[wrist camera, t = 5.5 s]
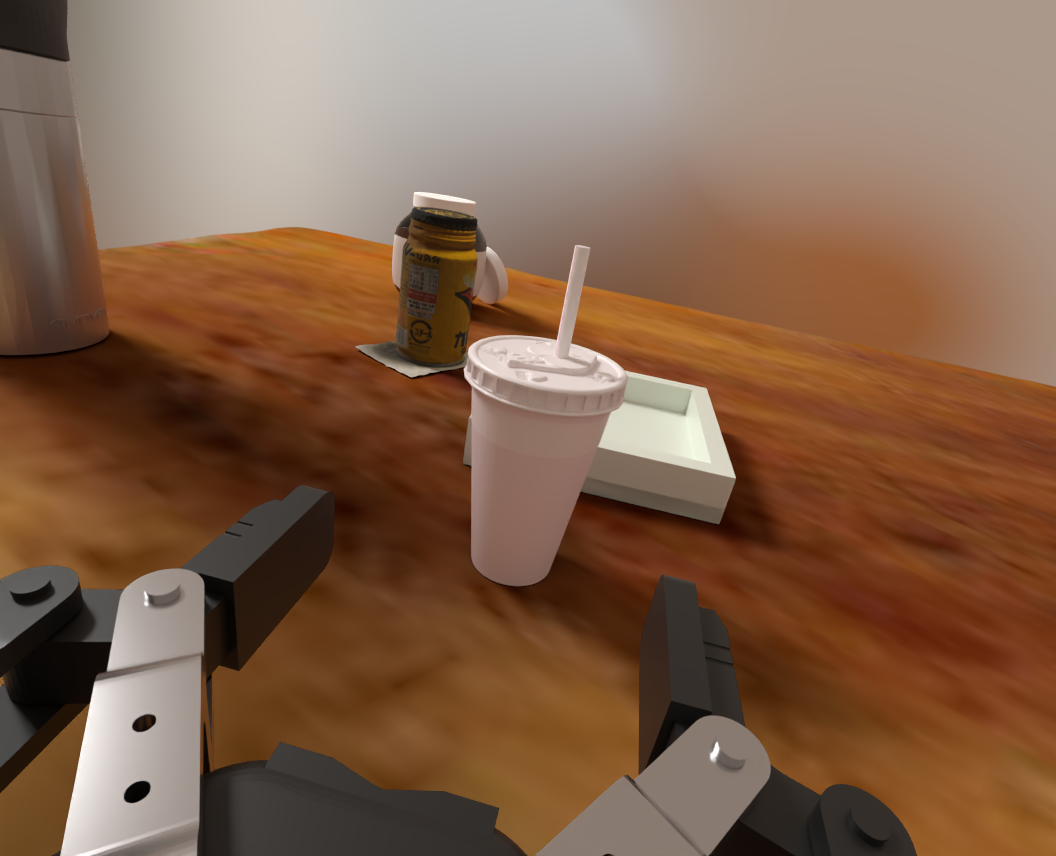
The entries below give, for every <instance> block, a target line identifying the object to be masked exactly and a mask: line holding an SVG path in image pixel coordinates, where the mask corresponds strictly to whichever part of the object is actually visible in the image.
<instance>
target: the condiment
mask: <svg viewBox="0 0 1056 856" xmlns="http://www.w3.org/2000/svg"><path fill="white" fill-rule="evenodd" d="M410 216H411V224H410V226H409V234H410V235H409V237H408V239H407V241H406V242H405V244H404V246H403V250H402V251H403V253H402V267H401V278H400V279H401V281H400V294H399V308H398V321H397V334H396V342H385V343H379V344H373V345H361V346H355V347H356V348H358V349H360V350H361V351H362V352H364V353H365V354H367V355H369V356H371V357H372V358H374V359H375V360H377V361H379V362H381V363H383V364H385V366H386V367H387V366H389V367H391V368H394V369H395V370H397V371H398V372H400V373H404V374H406V375H407V376H409V377H415V376H418V375H425V374H428V373H434V372H438V371H444V370H452V369H458V368H461V367H466V365H467V358H468V354H466V353H465V352H466V346H467V340H468V331H469V324H470V315H471V307H472V299H473V291H474V283H475V276H476V271H477V260H478V258H477V253H476V251H475V249H474V245H475V244H476V239H475V237H476V234H475V233H476V228H477V219H476V218H475V217H473V216H471V215H468V214H464V213H461V212H456V211H451V210H445V209H440V208H433V207H432V208H431V207H415V208H413V210H412V212H411V213H410ZM418 366H419V367H418Z"/></svg>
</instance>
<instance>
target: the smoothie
mask: <svg viewBox="0 0 1056 856" xmlns="http://www.w3.org/2000/svg"><path fill="white" fill-rule="evenodd" d="M589 252H590V248H589V247H586V246H580V245H576V246H575V250H574V255H573V260H572V266H571V271H570V276H569V281H568V286H567V291H566V296H565V302H564V307H563V312H562V317H561V322H560V327H559V333H558V338H557V340H553V339H547V338H540V337H531V336H514V335H509V336H495V337H489V338H485V339H481V340H479V341H477V342H475V343H474V344H472V345H471V346H470V348H469V350H468V358H467V365H466V367H465V368H464V375H465V379H466V380H467V381H468V382H469V384H470V385H471V386H472V411H471V421H472V477H471V558H472V562H473V564H474V566H475V568H476V569H477V570H478V571H479V572H480V573H481V574H482V575H484V576H485V577H487V578H488V579H490V580H492V581H495V582H497V583H500V584H504V585H510V586H526V585H531V584H534V583H537V582H539V581H541V580H542V579H544V578H545V577H546V576H547V574H548V573H549V571H550V568H551V566H552V563H553V561H554V558H555V555H556V553H557V550H558V548H559V545H560V543H561V540H562V537H563V535H564V532H565V530H566V527H567V525H568V522H569V519H570V517H571V514H572V512H573V509H574V507H575V504H576V502H577V499H578V496H579V494H580V491H581V489H582V486H583V484H584V481H585V478H586V476H587V473H588V471H589V468H590V466H591V463H592V461H593V458H594V455H595V453H596V450H597V448H598V445H599V443H600V441H601V438H602V435H603V433H604V430H605V427H606V425H607V422H608V419H609V416H610V414H611V412H612V411H614V410H617V409H619V408H620V406H621V405H622V403H623V402H624V393H625V389H626V385H627V381H628V377H627V374H626V373H625V371H624V370H623V368H621V367H620V366H619V365H618V364H617V363H616V362H614V361H613V360H611V359H609V358H608V357H606V356H604V355H602V354H600V353H597V352H595V351H592V350H590V349H587V348H584V347H581V346H578V345H574V344H571V340H572V335H573V330H574V326H575V321H576V316H577V311H578V306H579V301H580V296H581V291H582V286H583V281H584V277H585V272H586V266H587V262H588V257H589Z"/></svg>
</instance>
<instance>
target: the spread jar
mask: <svg viewBox="0 0 1056 856" xmlns="http://www.w3.org/2000/svg"><path fill="white" fill-rule="evenodd" d="M413 206H414V208H415V207H431V208H432V207H433V208H440V209H445V210H451V211H456V212H461V213H464V214H468V215H471V216H473V217H474V216H475V210H476V202H473V201H470V200H466V199H462V198H458V197H452V196H447V195H440V194H433V193H425V192H415V193H414V202H413ZM410 224H411V216H410V214H408V215H407V216H406V217H405V218H404V219H403V220H402V221H401V222H400V224H399V225H398V227H397V230H396V232H395V237H394V245H393V259H392V277H393V282H394V284H395V287H396V289H397V290H398V292H399V293H400V281H401V279H400V278H401V267H402V253H403V251H402V250H403V246H404V244H405V242H406V241H407V239H408V237H409V235H410V234H409V226H410ZM475 234H476V237H475V239H476V244H475V245H474V249H475V251H476V253H477V258H478V260H477V271H476V276H475V283H474V291H473V299H472V301H473V300H474V299H475V298H476V297H478V298H479V299H480V300H481V301H482V302H484V303H486V304H494V303H496V302H498V301H501V300H502V299H504V297H505V296H506V294H507V290H508V279H507V274H506V271H505V268H504V265H503V264H502V262H501V260H500V258H499V257H498V255H497V254H496V253H495V252H494V251H493V250H492V249H490V248H489V247H487V246H486V240H485V237H484V235H483V233H482V231H481V229H480V228H479V226H478V225H477V228H476V233H475Z"/></svg>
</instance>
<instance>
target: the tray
mask: <svg viewBox="0 0 1056 856" xmlns="http://www.w3.org/2000/svg"><path fill="white" fill-rule="evenodd" d="M625 373H626V374H627V377H628V381H627V385H626V389H625V393H624V402H623V403H622V405H621V406H620V408H619V409H617V410H614V411H612V412H611V414H610V416H609V419H608V422H607V425H606V427H605V430H604V433H603V435H602V438H601V441H600V443H599V445H598V448H597V450H596V453H595V455H594V458H593V461H592V463H591V466H590V468H589V471H588V473H587V476H586V478H585V481H584V484H583V486H582V489H581V491H580V492H584V493H589V494H593V495H597V496H601V497H605V498H610V499H614V500H618V501H622V502H627V503H631V504H635V505H639V506H643V507H648V508H652V509H656V510H660V511H665V512H669V513H673V514H677V515H681V516H686V517H690V518H694V519H698V520H703V521H707V522H711V523H715V524H720V521H721V518H722V516H723V513H724V510H725V508H726V505H727V502H728V499H729V497H730V494H731V491H732V489H733V486H734V483H735V480H736V477H735V474H734V471H733V468H732V465H731V462H730V458H729V455H728V452H727V449H726V446H725V443H724V440H723V437H722V434H721V431H720V428H719V425H718V422H717V419H716V416H715V413H714V410H713V407H712V404H711V401H710V398H709V395H708V392H707V389H706V388H703V387H698V386H693V385H689V384H684V383H679V382H675V381H670V380H665V379H661V378H656V377H651V376H647V375H642V374H637V373H633V372H628V371H625ZM463 464H466V465H470V466H472V421H471V415H470V417H469V421H468V428H467V436H466V443H465V451H464V458H463Z"/></svg>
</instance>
